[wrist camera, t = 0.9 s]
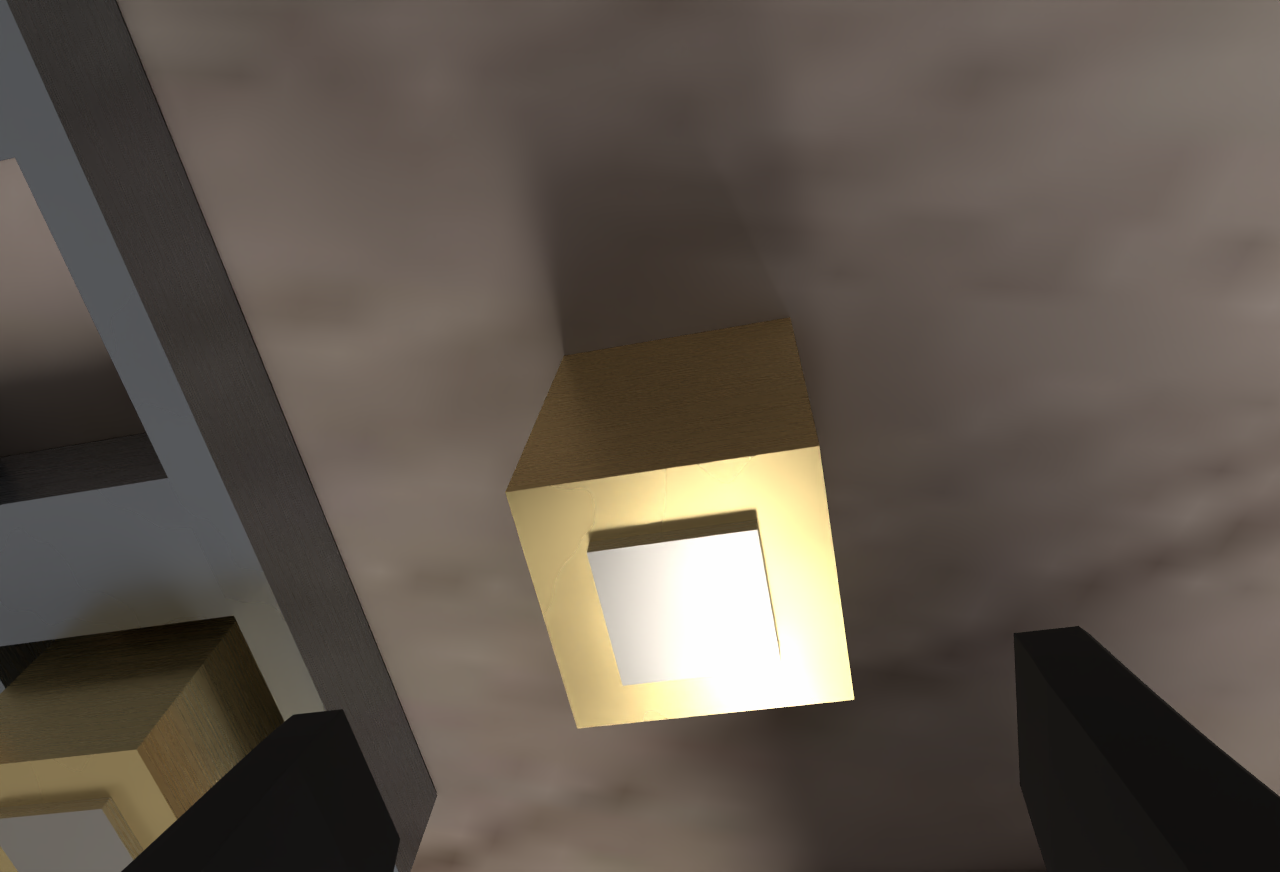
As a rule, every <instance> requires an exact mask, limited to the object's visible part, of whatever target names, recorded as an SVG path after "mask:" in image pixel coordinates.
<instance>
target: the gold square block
mask: <svg viewBox="0 0 1280 872" xmlns="http://www.w3.org/2000/svg"><path fill="white" fill-rule="evenodd" d="M505 493H506V496H507V499H508V503H509V506H510V509H511V512H512V516H513V519H514V522H515V525H516V529H517V532H518V535H519V539H520V542H521V545H522V548H523V552H524V555H525V558H526V562H527V565H528V568H529V571H530V575H531V578H532V581H533V585H534V588H535V591H536V594H537V598H538V601H539V604H540V607H541V611H542V614H543V617H544V621H545V624H546V627H547V630H548V634H549V637H550V640H551V644H552V647H553V650H554V653H555V657H556V660H557V663H558V667H559V670H560V673H561V676H562V680H563V683H564V686H565V690H566V693H567V696H568V699H569V703H570V706H571V709H572V712H573V716H574V719H575V722H576V726H577V729H578V728H587V727H597V726H606V725H616V724H626V723H635V722H645V721H654V720H664V719H674V718H683V717H693V716H702V715H712V714H722V713H731V712H741V711H750V710H760V709H770V708H779V707H789V706H798V705H808V704H818V703H827V702H837V701H847V700H854V694H853V687H852V680H851V672H850V665H849V658H848V651H847V643H846V636H845V629H844V622H843V614H842V607H841V600H840V592H839V585H838V578H837V571H836V563H835V556H834V549H833V542H832V534H831V527H830V520H829V513H828V505H827V498H826V491H825V484H824V476H823V469H822V462H821V454H820V447H819V442H818V438H817V434H816V429H815V425H814V420H813V416H812V411H811V407H810V403H809V398H808V394H807V389H806V385H805V381H804V376H803V372H802V367H801V363H800V358H799V354H798V350H797V345H796V341H795V336H794V332H793V328H792V323H791V319H790V317H789V318H783V319H777V320H771V321H765V322H760V323H754V324H748V325H742V326H736V327H730V328H724V329H719V330H713V331H707V332H701V333H695V334H689V335H683V336H677V337H672V338H666V339H660V340H654V341H648V342H642V343H636V344H630V345H625V346H619V347H613V348H607V349H601V350H595V351H589V352H584V353H578V354H572V355H566V356H564V357H563V359H562V362H561V364H560V366H559V369H558V371H557V373H556V376H555V378H554V380H553V383H552V385H551V387H550V390H549V392H548V394H547V397H546V399H545V401H544V404H543V406H542V408H541V411H540V413H539V415H538V418H537V420H536V422H535V425H534V427H533V429H532V432H531V434H530V436H529V439H528V441H527V443H526V446H525V448H524V450H523V453H522V455H521V457H520V460H519V462H518V464H517V467H516V469H515V471H514V474H513V476H512V478H511V481H510V483H509V485H508V488H507V490H506V492H505Z"/></svg>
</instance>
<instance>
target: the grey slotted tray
mask: <svg viewBox="0 0 1280 872" xmlns="http://www.w3.org/2000/svg"><path fill="white" fill-rule="evenodd" d="M14 157H15V158H16V160H17V163H18V165H19V167H20V169H21V171H22V173H23V175H24V177H25V179H26V181H27V183H28V186H29V188H30V190H31V192H32V194H33V196H34V198H35V200H36V202H37V204H38V206H39V209H40V211H41V213H42V215H43V217H44V219H45V221H46V223H47V225H48V227H49V230H50V232H51V234H52V236H53V238H54V240H55V242H56V244H57V246H58V248H59V250H60V253H61V255H62V257H63V259H64V261H65V263H66V265H67V267H68V269H69V271H70V273H71V276H72V278H73V280H74V282H75V284H76V286H77V288H78V290H79V292H80V294H81V297H82V299H83V301H84V303H85V305H86V307H87V309H88V311H89V313H90V315H91V317H92V320H93V322H94V324H95V326H96V328H97V330H98V332H99V334H100V336H101V338H102V340H103V343H104V345H105V347H106V349H107V351H108V353H109V355H110V357H111V359H112V361H113V364H114V366H115V368H116V370H117V372H118V374H119V376H120V378H121V380H122V382H123V384H124V387H125V389H126V391H127V393H128V395H129V397H130V399H131V401H132V403H133V405H134V407H135V410H136V412H137V414H138V416H139V418H140V420H141V422H142V424H143V426H144V428H145V431H146V433H143V434H137V435H131V436H125V437H119V438H113V439H108V440H102V441H96V442H90V443H84V444H78V445H72V446H66V447H60V448H54V449H48V450H43V451H37V452H31V453H25V454H19V455H13V456H7V457H1V458H0V694H1V693H2V692H3V691H4V690H5V689H6V688H7V687H8V686H9V685H10V684H11V683H12V682H13V681H14V680H15V679H16V678H17V677H18V676H19V675H20V674H21V673H22V672H23V671H24V670H25V669H26V668H27V667H28V666H29V665H30V664H31V663H32V662H33V661H35V660H36V659H37V658H38V657H39V656H40V655H41V654H42V653H43V652H44V651H45V650H46V649H47V648H48V647H49V646H50V645H51V644H52V643H53V642H54V641H55V640H56V639H60V638H67V637H75V636H82V635H90V634H98V633H105V632H113V631H120V630H128V629H135V628H143V627H151V626H158V625H166V624H173V623H181V622H188V621H196V620H204V619H211V618H219V617H226V616H234V617H235V619H236V621H237V623H238V625H239V627H240V629H241V632H242V634H243V636H244V638H245V640H246V642H247V644H248V646H249V648H250V650H251V652H252V655H253V657H254V659H255V661H256V663H257V665H258V667H259V669H260V671H261V673H262V675H263V678H264V680H265V682H266V684H267V686H268V688H269V690H270V692H271V694H272V696H273V699H274V701H275V703H276V705H277V707H278V709H279V711H280V713H281V715H282V717H283V719H284V722H285V721H286V720H287V719H288V718H290V717H291V716H292V715H295V714H303V713H312V712H321V711H330V710H339V709H343V711H344V713H345V715H346V717H347V720H348V722H349V724H350V726H351V729H352V731H353V733H354V735H355V738H356V740H357V742H358V744H359V747H360V749H361V751H362V753H363V756H364V758H365V760H366V762H367V765H368V767H369V769H370V772H371V774H372V776H373V778H374V781H375V783H376V785H377V787H378V790H379V792H380V794H381V796H382V799H383V801H384V803H385V805H386V808H387V810H388V812H389V814H390V817H391V819H392V821H393V823H394V826H395V828H396V830H397V832H398V835H399V837H400V843H399V848H398V853H397V858H396V862H395V867H394V872H410V871H411V868H412V866H413V863H414V860H415V857H416V854H417V851H418V849H419V846H420V843H421V840H422V837H423V834H424V832H425V829H426V826H427V823H428V820H429V817H430V814H431V812H432V809H433V806H434V803H435V800H436V797H437V794H436V792H435V789H434V787H433V784H432V782H431V779H430V777H429V774H428V772H427V769H426V767H425V764H424V762H423V759H422V757H421V755H420V752H419V750H418V747H417V745H416V742H415V740H414V737H413V735H412V732H411V730H410V727H409V725H408V722H407V720H406V717H405V715H404V713H403V710H402V708H401V705H400V703H399V700H398V698H397V695H396V693H395V690H394V688H393V685H392V683H391V680H390V678H389V675H388V673H387V671H386V668H385V666H384V663H383V661H382V658H381V656H380V653H379V651H378V648H377V646H376V643H375V641H374V638H373V636H372V633H371V631H370V629H369V626H368V624H367V621H366V619H365V616H364V614H363V611H362V609H361V606H360V604H359V601H358V599H357V596H356V594H355V591H354V589H353V587H352V584H351V582H350V579H349V577H348V574H347V572H346V569H345V567H344V564H343V562H342V559H341V557H340V554H339V552H338V550H337V547H336V545H335V542H334V540H333V537H332V535H331V532H330V530H329V527H328V525H327V522H326V520H325V517H324V515H323V512H322V510H321V508H320V505H319V503H318V500H317V498H316V495H315V493H314V490H313V488H312V485H311V483H310V480H309V478H308V475H307V473H306V470H305V468H304V466H303V463H302V461H301V458H300V456H299V453H298V451H297V448H296V446H295V443H294V441H293V438H292V436H291V433H290V431H289V428H288V426H287V424H286V421H285V419H284V416H283V414H282V411H281V409H280V406H279V404H278V401H277V399H276V396H275V394H274V391H273V389H272V386H271V384H270V382H269V379H268V377H267V374H266V372H265V369H264V367H263V364H262V362H261V359H260V357H259V354H258V352H257V349H256V347H255V344H254V342H253V340H252V337H251V335H250V332H249V330H248V327H247V325H246V322H245V320H244V317H243V315H242V312H241V310H240V307H239V305H238V302H237V300H236V298H235V295H234V293H233V290H232V288H231V285H230V283H229V280H228V278H227V275H226V273H225V270H224V268H223V265H222V263H221V260H220V258H219V256H218V253H217V251H216V248H215V246H214V243H213V241H212V238H211V236H210V233H209V231H208V228H207V226H206V223H205V221H204V219H203V216H202V214H201V211H200V209H199V206H198V204H197V201H196V199H195V196H194V194H193V191H192V189H191V186H190V184H189V181H188V179H187V177H186V174H185V172H184V169H183V167H182V164H181V162H180V159H179V157H178V154H177V152H176V149H175V147H174V144H173V142H172V139H171V137H170V135H169V132H168V130H167V127H166V125H165V122H164V120H163V117H162V115H161V112H160V110H159V107H158V105H157V102H156V100H155V97H154V95H153V93H152V90H151V88H150V85H149V83H148V80H147V78H146V75H145V73H144V70H143V68H142V65H141V63H140V60H139V58H138V55H137V53H136V51H135V48H134V46H133V43H132V41H131V38H130V36H129V33H128V31H127V28H126V26H125V23H124V21H123V18H122V16H121V13H120V11H119V9H118V6H117V4H116V1H115V0H0V161H1V160H5V159H10V158H14Z"/></svg>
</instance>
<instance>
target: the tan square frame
mask: <svg viewBox="0 0 1280 872" xmlns="http://www.w3.org/2000/svg"><path fill="white" fill-rule="evenodd" d="M282 723H284V719H283V717H282V715H281V713H280V711H279V709H278V707H277V705H276V703H275V701H274V699H273V696H272V694H271V692H270V690H269V688H268V686H267V684H266V682H265V680H264V678H263V675H262V673H261V671H260V669H259V667H258V665H257V663H256V661H255V659H254V657H253V655H252V652H251V650H250V648H249V646H248V644H247V642H246V640H245V638H244V636H243V634H242V632H241V629H240V627H239V625H238V623H237V621H236V619H235V617H234V616H226V617H219V618H211V619H204V620H196V621H188V622H181V623H173V624H166V625H158V626H151V627H143V628H135V629H128V630H120V631H113V632H105V633H98V634H90V635H82V636H75V637H67V638H60V639H56V640H55V641H54V642H53V643H52V644H51V645H50V646H49V647H48V648H47V649H46V650H45V651H44V652H43V653H42V654H41V655H40V656H39V657H38V658H37V659H36V660H35V661H33V662H32V663H31V664H30V665H29V666H28V667H27V668H26V669H25V670H24V671H23V672H22V673H21V674H20V675H19V676H18V677H17V678H16V679H15V680H14V681H13V682H12V683H11V684H10V685H9V686H8V687H7V688H6V689H5V690H4V691H3V692H2V693H1V694H0V872H121V871H122V870H123V869H124V868H125V867H127V866H128V865H129V864H130V863H131V862H132V861H133V860H134V859H135V858H136V857H137V856H138V855H139V854H141V853H142V852H143V851H144V850H145V849H146V848H147V847H148V846H149V845H150V844H151V843H152V842H153V841H155V840H156V839H157V838H158V837H159V836H160V835H161V834H162V833H163V832H164V831H165V830H166V829H167V828H169V827H170V826H171V825H172V824H173V823H174V822H175V821H176V820H177V819H178V818H179V817H180V816H182V815H183V814H184V813H185V812H186V811H187V810H188V809H189V808H190V807H191V806H192V805H193V804H194V803H195V802H197V801H198V800H199V799H200V798H201V797H202V796H203V795H204V794H205V793H206V792H207V791H208V790H209V789H210V788H212V787H213V786H214V785H215V784H216V783H217V782H218V781H219V780H220V779H221V778H222V777H223V776H224V775H225V774H227V773H228V772H229V771H230V770H231V769H232V768H233V767H234V766H235V765H236V764H237V763H238V762H239V761H241V760H242V759H243V758H244V757H245V756H246V755H247V754H248V753H249V752H250V751H251V750H253V749H254V748H255V747H256V746H257V745H258V744H259V743H260V742H261V741H263V740H264V739H265V738H266V737H267V736H268V735H269V734H271V733H272V732H273V731H274V730H275V729H276V728H278V727H279V726H280V725H281V724H282Z"/></svg>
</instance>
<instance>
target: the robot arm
mask: <svg viewBox="0 0 1280 872" xmlns="http://www.w3.org/2000/svg"><path fill="white" fill-rule="evenodd" d="M1014 650H1015V674H1016V698H1017V722H1018V746H1019V770H1020V786H1021V789H1022V792H1023V796H1024V799H1025V802H1026V805H1027V809H1028V812H1029V815H1030V818H1031V822H1032V825H1033V828H1034V831H1035V835H1036V838H1037V841H1038V844H1039V847H1040V850H1041V853H1042V856H1043V860H1044V863H1045V866H1046V869H1047V872H1280V797H1279V796H1278V795H1277V794H1276V793H1275V792H1273V791H1272V790H1271V789H1270V788H1268V787H1267V786H1266V785H1265V784H1263V783H1262V782H1261V781H1260V780H1258V779H1257V778H1256V777H1255V776H1254V775H1252V774H1251V773H1250V772H1249V771H1247V770H1246V769H1245V768H1244V767H1242V766H1241V765H1240V764H1239V763H1237V762H1236V761H1235V760H1234V759H1233V758H1231V757H1230V756H1229V755H1228V754H1226V753H1225V752H1224V751H1223V750H1221V749H1220V748H1219V747H1218V746H1216V745H1215V744H1214V743H1213V742H1212V741H1211V740H1209V739H1208V738H1207V737H1206V736H1205V735H1203V734H1202V733H1201V732H1200V731H1199V730H1197V729H1196V728H1195V727H1194V726H1193V725H1191V724H1190V723H1189V722H1188V721H1187V720H1186V719H1185V718H1183V717H1182V716H1181V715H1180V714H1179V713H1178V712H1176V711H1175V710H1174V709H1173V708H1172V707H1171V706H1170V705H1168V704H1167V703H1166V702H1165V701H1164V700H1163V699H1161V698H1160V697H1159V696H1158V695H1157V694H1156V693H1155V692H1153V691H1152V690H1151V689H1150V688H1149V687H1148V686H1147V685H1145V684H1144V683H1143V682H1142V681H1141V680H1140V679H1139V678H1138V677H1136V676H1135V675H1134V674H1133V673H1132V672H1131V671H1130V670H1129V669H1128V668H1126V667H1125V666H1124V665H1123V664H1122V663H1121V662H1120V661H1119V660H1118V659H1116V658H1115V657H1114V656H1113V655H1112V654H1111V653H1110V652H1109V651H1108V650H1106V649H1105V648H1104V647H1103V646H1102V645H1101V644H1100V643H1099V642H1098V641H1097V640H1095V639H1094V638H1093V637H1092V636H1091V635H1090V634H1088V633H1087V632H1086V631H1084V630H1083V629H1082V628H1080V627H1079V626H1075V627H1067V628H1058V629H1049V630H1040V631H1031V632H1022V633H1014ZM399 843H400V837H399V835H398V832H397V830H396V828H395V826H394V823H393V821H392V819H391V817H390V814H389V812H388V810H387V808H386V805H385V803H384V801H383V799H382V796H381V794H380V792H379V790H378V787H377V785H376V783H375V781H374V778H373V776H372V774H371V772H370V769H369V767H368V765H367V762H366V760H365V758H364V756H363V753H362V751H361V749H360V747H359V744H358V742H357V740H356V738H355V735H354V733H353V731H352V729H351V726H350V724H349V722H348V720H347V717H346V715H345V713H344V711H343V709H339V710H330V711H321V712H312V713H303V714H295V715H292V716H291V717H290V718H288V719H287V720H286V721H285V722H284V723H282V724H281V725H280V726H279V727H278V728H276V729H275V730H274V731H273V732H272V733H271V734H269V735H268V736H267V737H266V738H265V739H264V740H263V741H261V742H260V743H259V744H258V745H257V746H256V747H255V748H254V749H253V750H251V751H250V752H249V753H248V754H247V755H246V756H245V757H244V758H243V759H242V760H241V761H239V762H238V763H237V764H236V765H235V766H234V767H233V768H232V769H231V770H230V771H229V772H228V773H227V774H225V775H224V776H223V777H222V778H221V779H220V780H219V781H218V782H217V783H216V784H215V785H214V786H213V787H212V788H210V789H209V790H208V791H207V792H206V793H205V794H204V795H203V796H202V797H201V798H200V799H199V800H198V801H197V802H195V803H194V804H193V805H192V806H191V807H190V808H189V809H188V810H187V811H186V812H185V813H184V814H183V815H182V816H180V817H179V818H178V819H177V820H176V821H175V822H174V823H173V824H172V825H171V826H170V827H169V828H167V829H166V830H165V831H164V832H163V833H162V834H161V835H160V836H159V837H158V838H157V839H156V840H155V841H153V842H152V843H151V844H150V845H149V846H148V847H147V848H146V849H145V850H144V851H143V852H142V853H141V854H139V855H138V856H137V857H136V858H135V859H134V860H133V861H132V862H131V863H130V864H129V865H128V866H127V867H125V868H124V869H123V870H122V871H121V872H394V867H395V862H396V858H397V853H398V848H399Z"/></svg>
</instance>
